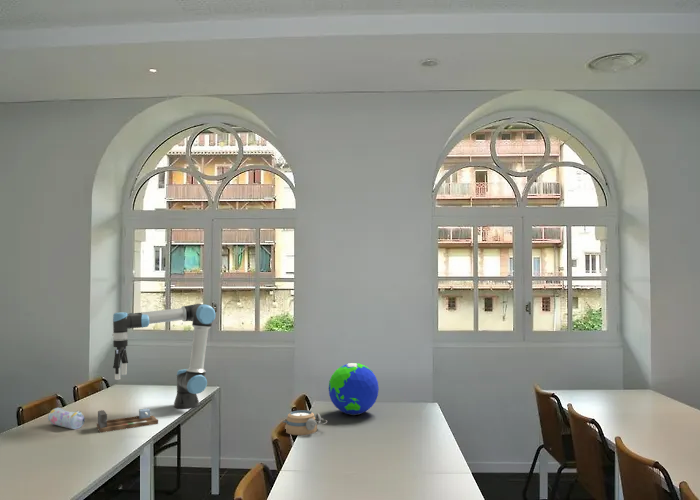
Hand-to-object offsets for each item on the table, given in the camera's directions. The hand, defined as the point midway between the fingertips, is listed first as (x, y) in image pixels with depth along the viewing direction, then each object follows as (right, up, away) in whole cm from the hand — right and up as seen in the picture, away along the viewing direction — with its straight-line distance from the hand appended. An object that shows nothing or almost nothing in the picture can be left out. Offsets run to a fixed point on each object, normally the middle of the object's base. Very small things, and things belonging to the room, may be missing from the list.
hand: (120, 377), depth 320 cm
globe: (+133, -25, +12) cm, 135 cm away
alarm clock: (+107, -24, -20) cm, 112 cm away
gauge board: (+7, -25, -8) cm, 27 cm away
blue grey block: (+16, -23, -5) cm, 28 cm away
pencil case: (-27, -26, -9) cm, 38 cm away
